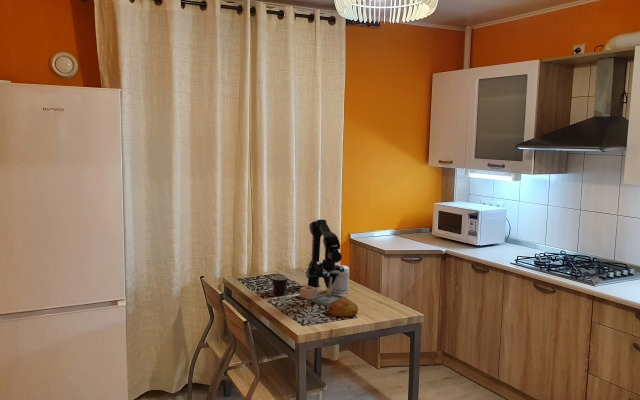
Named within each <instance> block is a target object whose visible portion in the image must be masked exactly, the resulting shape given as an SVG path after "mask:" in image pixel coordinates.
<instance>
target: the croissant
mask: <svg viewBox="0 0 640 400" xmlns="http://www.w3.org/2000/svg"><path fill="white" fill-rule="evenodd" d="M326 307H327V308H326V309H328V310H327V311H328V312H329V314H331V315H333V316H335V317H339V318H346V317H355V316H356V315H357V314H358V311H359V308H358V307H359V306H357V304H356V303H355V302H354V301H352V300H351V299H348V298H347V299H345V298H339V299H337V300H335V301H333V302H332V303H331V304H330V305H329V306H326Z"/></svg>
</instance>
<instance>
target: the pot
mask: <svg viewBox="0 0 640 400" xmlns="http://www.w3.org/2000/svg"><path fill="white" fill-rule="evenodd" d="M316 296H318V287H317V288H315V287H311V286H308V285H305V286H303V287H300V288H299V297H300V298H303V299H306V300H311V298H313V297H316Z"/></svg>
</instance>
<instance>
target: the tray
mask: <svg viewBox="0 0 640 400" xmlns="http://www.w3.org/2000/svg"><path fill="white" fill-rule="evenodd" d="M339 298H345V299H348V298H347V296H346V295H345V296H344V295H341V294H339V293H335V292H334V293H333V292H332V297H331V298H326V293H322V294H319V295H317V296H316V297H313V298H311V299H310V302H312V303H315V304H319V305H322V306H324V307H325V306H326V307H328V306H329V305H330V304H331V303H332V302H333V301H335V300H337V299H339Z"/></svg>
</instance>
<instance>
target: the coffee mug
mask: <svg viewBox="0 0 640 400" xmlns="http://www.w3.org/2000/svg"><path fill="white" fill-rule="evenodd" d="M288 280H289V279H288V276H284V275H275V276H272V277H271V281H272V282H271V283H272V292H273V296H275V297H284V296H286V292H287V285H288Z"/></svg>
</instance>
